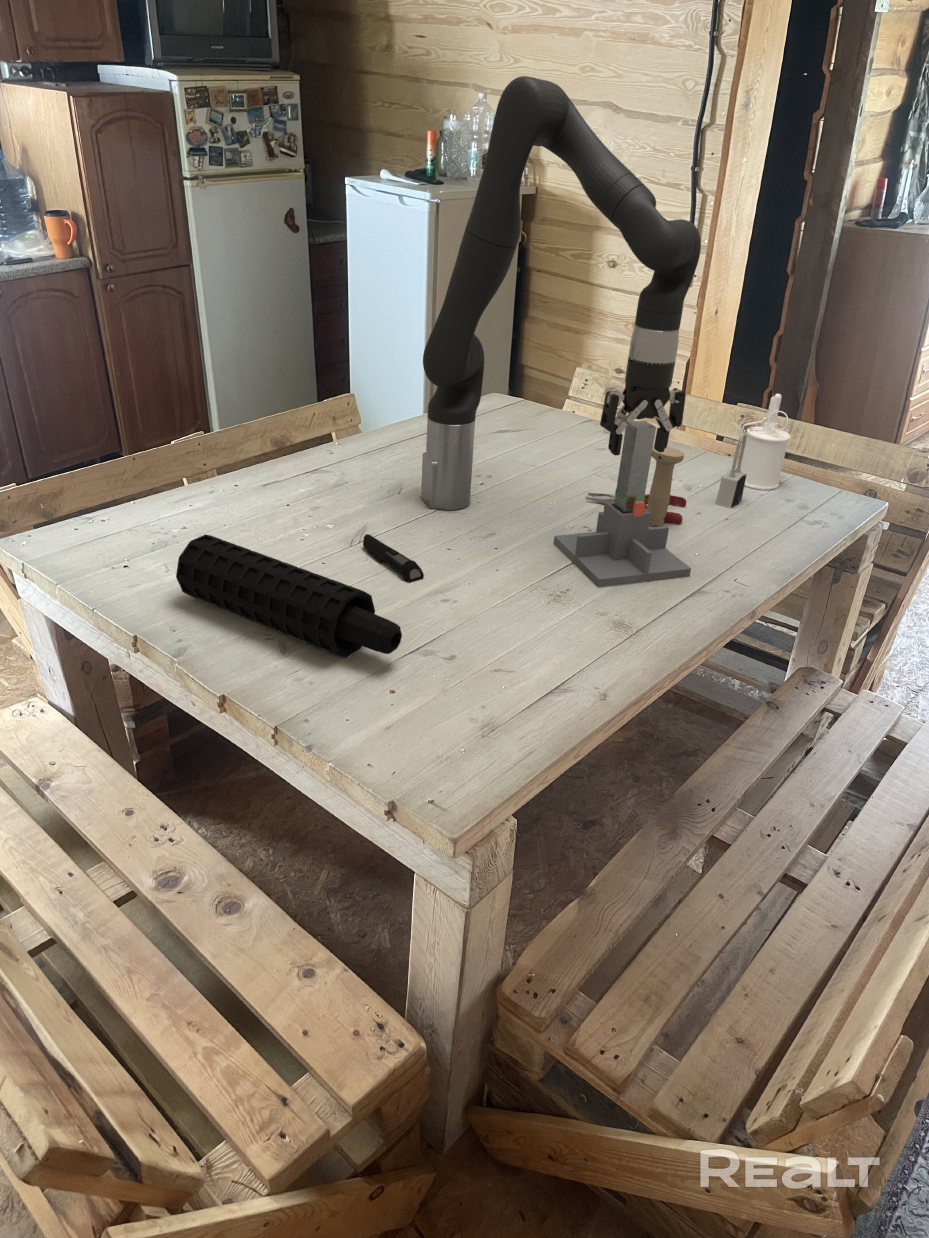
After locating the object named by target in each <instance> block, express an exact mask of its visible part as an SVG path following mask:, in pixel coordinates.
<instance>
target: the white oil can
mask: <svg viewBox="0 0 929 1238" xmlns="http://www.w3.org/2000/svg"><path fill="white" fill-rule="evenodd" d="M781 402H782V394H781V393H776V394H775V395H774V396H772V397H771V398H770V401H769V404H768V405H769V406H768V411H767V415H766V416H765V417H763V418H762V420H758V421H752V422H747V423H744V424H742V427H741V431H740V436H741V434H742V433H745V432H744V431H745V427H746V426H750V427H748V428H747V430H746V435H747V439H746V444H745V449H744V453H743V458H742V462H741V467H740V469H741V472H742V473H746V474H747V476H746V481H745V485H744V487H747V488H750V489H754V490H761V491H771V490H775V489H777V488H778V487H779V486H780V482H779V481H780V477H781V472H782V468H783V464H784V462H785V461H784V459H785V455H786V452H787V448H788V443H789V441H790V440H791V437H792V436H791V434H790V433H788V432H787V431H785V429H786V428H787V427H788V425H789V417H788V414H787V413H786V412H784V411H782V410H780V407H781V404H782V403H781ZM779 413H782V414H783V415H784V416H785V418H786V423H785V425H784V427H782V428H778V425H779V423H778V421H777V419H778V414H779ZM761 423H763V426H752V425H756V424H761ZM740 436H739V437H740Z"/></svg>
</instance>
